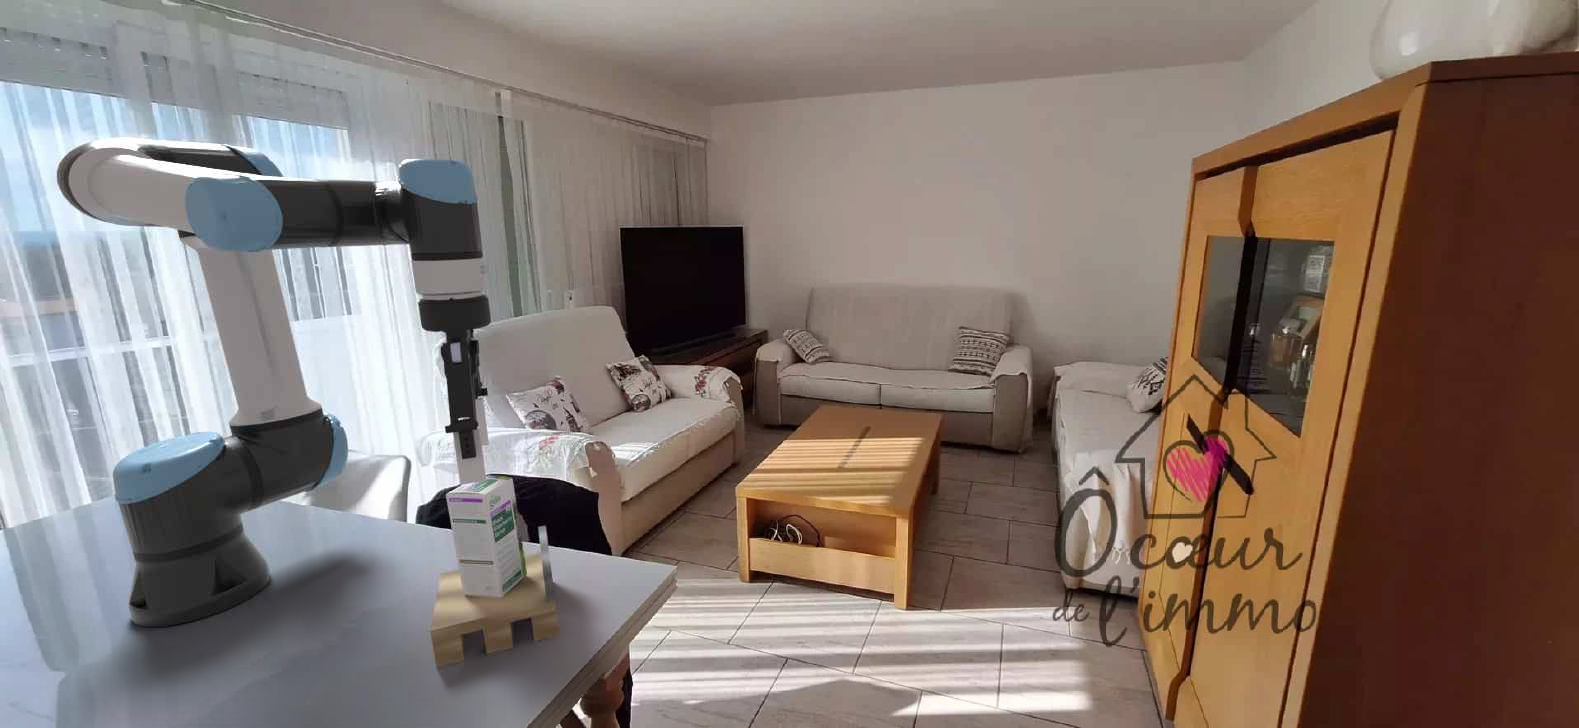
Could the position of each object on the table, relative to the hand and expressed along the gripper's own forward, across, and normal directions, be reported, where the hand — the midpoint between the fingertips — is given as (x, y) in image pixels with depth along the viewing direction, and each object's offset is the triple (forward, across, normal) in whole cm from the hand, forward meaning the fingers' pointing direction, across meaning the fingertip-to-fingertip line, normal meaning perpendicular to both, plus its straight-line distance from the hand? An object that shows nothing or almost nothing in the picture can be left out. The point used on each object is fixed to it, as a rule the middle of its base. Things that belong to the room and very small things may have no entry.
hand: (475, 462), depth 81 cm
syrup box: (+18, 0, 0) cm, 18 cm away
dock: (+22, 0, 0) cm, 22 cm away
